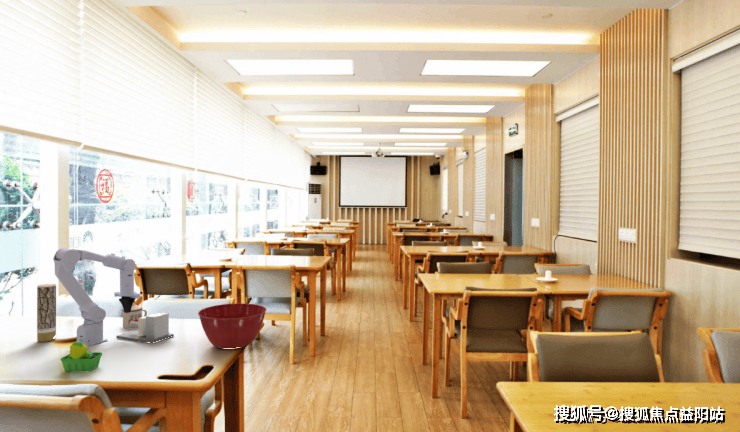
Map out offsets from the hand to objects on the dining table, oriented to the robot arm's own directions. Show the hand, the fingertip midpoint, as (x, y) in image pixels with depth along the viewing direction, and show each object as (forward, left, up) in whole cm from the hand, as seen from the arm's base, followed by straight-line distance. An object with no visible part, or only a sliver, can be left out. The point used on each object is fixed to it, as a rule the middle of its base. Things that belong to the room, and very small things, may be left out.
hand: (127, 312), depth 203 cm
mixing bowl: (+6, -57, -11) cm, 58 cm away
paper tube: (-20, +25, -11) cm, 34 cm away
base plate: (0, -12, -10) cm, 16 cm away
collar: (0, -13, -9) cm, 16 cm away
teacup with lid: (+14, +11, -11) cm, 20 cm away
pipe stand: (0, -12, -9) cm, 15 cm away
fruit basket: (-39, -25, -11) cm, 48 cm away
